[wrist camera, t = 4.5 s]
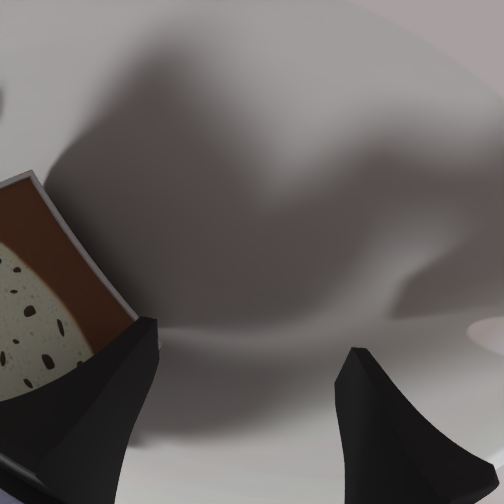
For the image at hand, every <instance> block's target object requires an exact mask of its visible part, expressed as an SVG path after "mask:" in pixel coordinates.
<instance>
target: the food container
mask: <svg viewBox="0 0 504 504" xmlns="http://www.w3.org/2000/svg"><path fill="white" fill-rule="evenodd" d="M138 318H139V316H138V315H137V314H136V313H135V312H134V311H133V310H132V308H131V307H130V306H129V305H128V304H127V303H126V301H125V300H124V299H123V298H122V297H121V295H120V294H119V293H118V292H117V290H116V289H115V288H114V287H113V286H112V284H111V283H110V282H109V281H108V279H107V278H106V277H105V276H104V274H103V273H102V272H101V270H100V269H99V268H98V267H97V265H96V264H95V263H94V261H93V260H92V259H91V257H90V256H89V255H88V253H87V252H86V251H85V249H84V248H83V246H82V245H81V244H80V242H79V241H78V240H77V238H76V237H75V235H74V234H73V232H72V231H71V230H70V228H69V227H68V225H67V224H66V222H65V221H64V219H63V218H62V216H61V215H60V213H59V212H58V210H57V209H56V207H55V206H54V204H53V203H52V201H51V200H50V198H49V196H48V195H47V193H46V192H45V190H44V188H43V187H42V185H41V184H40V182H39V180H38V179H37V177H36V175H35V174H34V172H33V170H29V171H27V172H24V173H22V174H19V175H17V176H14V177H12V178H9V179H7V180H5V181H2V182H0V401H4V400H7V399H11V398H14V397H17V396H20V395H22V394H25V393H28V392H30V391H33V390H35V389H37V388H39V387H42V386H44V385H46V384H48V383H50V382H52V381H54V380H56V379H58V378H60V377H61V376H63V375H65V374H66V373H68V372H70V371H71V370H73V369H75V368H76V367H78V366H79V365H81V364H82V363H84V362H85V361H86V360H88V359H89V358H90V357H92V356H93V355H95V354H96V353H97V352H99V351H100V350H101V349H102V348H104V347H105V346H106V345H107V344H109V343H110V342H111V341H112V340H114V339H115V338H116V337H117V336H118V335H120V334H121V333H122V332H123V331H124V330H125V329H127V328H128V327H129V326H130V325H131V324H132V323H133V322H135V321H136V320H137V319H138ZM162 345H163V343H162V342H161V341H160V340H159V339H158V347H159V350H160V348H161V347H162Z"/></svg>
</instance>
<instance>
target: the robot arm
mask: <svg viewBox="0 0 504 504" xmlns="http://www.w3.org/2000/svg"><path fill="white" fill-rule="evenodd" d="M158 362H159V347H158V331H157V319H152V318H147V317H143V316H141V317H139V318H138V319H137V320H136V321H135V322H133V323H132V324H131V325H130V326H129V327H128V328H127V329H125V330H124V331H123V332H122V333H121V334H120V335H118V336H117V337H116V338H115V339H114V340H112V341H111V342H110V343H109V344H107V345H106V346H105V347H104V348H102V349H101V350H100V351H99V352H97V353H96V354H95V355H93V356H92V357H90V358H89V359H88V360H86V361H85V362H84V363H82V364H81V365H79V366H78V367H76V368H75V369H73V370H71V371H70V372H68V373H66V374H65V375H63V376H61V377H60V378H58V379H56V380H54V381H52V382H50V383H48V384H46V385H44V386H42V387H39V388H37V389H35V390H33V391H30V392H28V393H25V394H22V395H20V396H17V397H14V398H11V399H7V400H4V401H0V504H114V503H115V496H116V491H117V486H118V481H119V476H120V472H121V467H122V463H123V459H124V455H125V452H126V448H127V444H128V441H129V437H130V434H131V432H132V429H133V426H134V424H135V422H136V419H137V417H138V415H139V412H140V410H141V408H142V405H143V403H144V401H145V398H146V396H147V394H148V391H149V389H150V387H151V384H152V382H153V379H154V376H155V372H156V369H157V365H158ZM335 406H336V413H337V418H338V424H339V430H340V436H341V442H342V448H343V454H344V463H345V504H475V503H476V502H478V501H479V500H481V499H482V498H484V497H485V496H487V495H488V494H490V493H491V492H492V491H493V490H495V489H496V488H497V487H498V485H499V480H498V477H497V474H496V471H495V468H494V466H493V465H492V464H490V463H488V462H486V461H484V460H482V459H480V458H478V457H477V456H475V455H473V454H471V453H469V452H468V451H466V450H465V449H463V448H462V447H460V446H459V445H457V444H456V443H454V442H453V441H451V440H450V439H449V438H448V437H446V436H445V435H444V434H442V433H441V432H440V431H439V430H438V429H436V428H435V427H434V426H433V425H432V424H431V423H430V422H429V421H428V420H427V419H425V418H424V417H423V416H422V415H421V414H420V413H419V412H418V411H417V410H416V409H415V407H414V406H413V405H412V404H411V403H410V402H409V401H408V400H407V399H406V397H405V396H404V395H403V394H402V393H401V392H400V390H399V389H398V388H397V387H396V385H395V384H394V383H393V382H392V380H391V379H390V378H389V377H388V375H387V374H386V373H385V372H384V370H383V369H382V368H381V366H380V365H379V364H378V362H377V361H376V360H375V359H374V357H373V356H372V355H371V353H370V352H369V351H368V350H367V349H366V348H354V347H351V350H350V352H349V354H348V356H347V358H346V360H345V363H344V365H343V367H342V369H341V371H340V373H339V375H338V377H337V379H336V381H335Z"/></svg>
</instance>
